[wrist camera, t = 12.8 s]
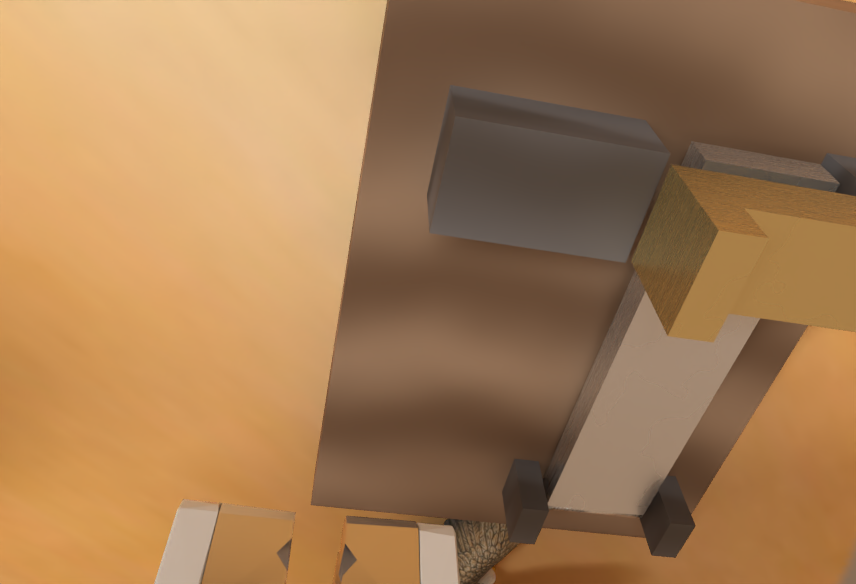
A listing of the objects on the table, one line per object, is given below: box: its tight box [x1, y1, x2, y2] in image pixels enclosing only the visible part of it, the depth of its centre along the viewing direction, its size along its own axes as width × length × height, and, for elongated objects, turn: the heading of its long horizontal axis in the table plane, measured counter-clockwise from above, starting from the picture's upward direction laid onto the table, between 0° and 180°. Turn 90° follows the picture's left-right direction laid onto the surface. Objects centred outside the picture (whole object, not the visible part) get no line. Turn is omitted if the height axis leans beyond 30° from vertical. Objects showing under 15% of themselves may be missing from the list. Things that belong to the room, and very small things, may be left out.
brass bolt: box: [631, 164, 856, 343], centre depth 18 cm, size 3×6×3 cm, turn 79°
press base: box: [311, 0, 856, 558], centre depth 24 cm, size 22×16×4 cm
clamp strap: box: [543, 141, 840, 518], centre depth 25 cm, size 16×4×1 cm, turn 169°
